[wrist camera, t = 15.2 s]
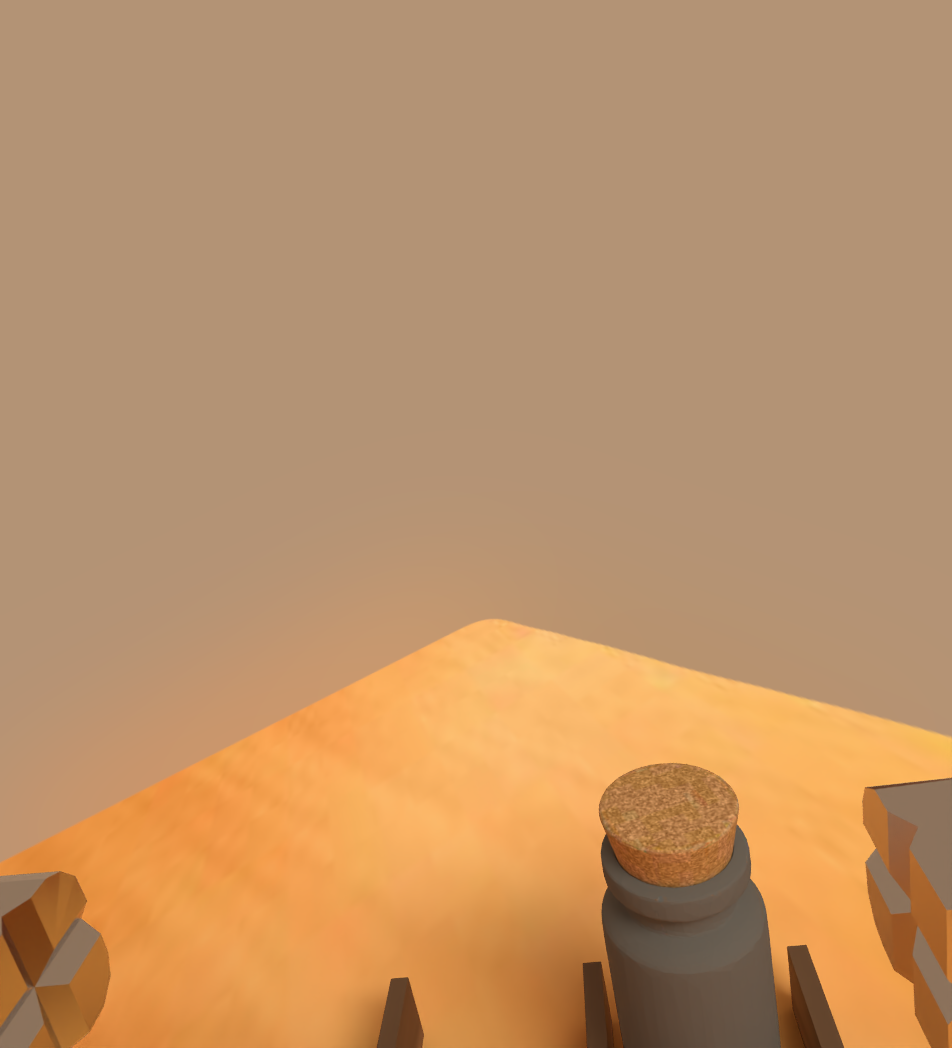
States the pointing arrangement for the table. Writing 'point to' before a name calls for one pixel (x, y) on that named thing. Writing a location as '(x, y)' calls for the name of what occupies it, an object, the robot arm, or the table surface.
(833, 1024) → the notched rack
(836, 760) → the table surface
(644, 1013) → the bottle
